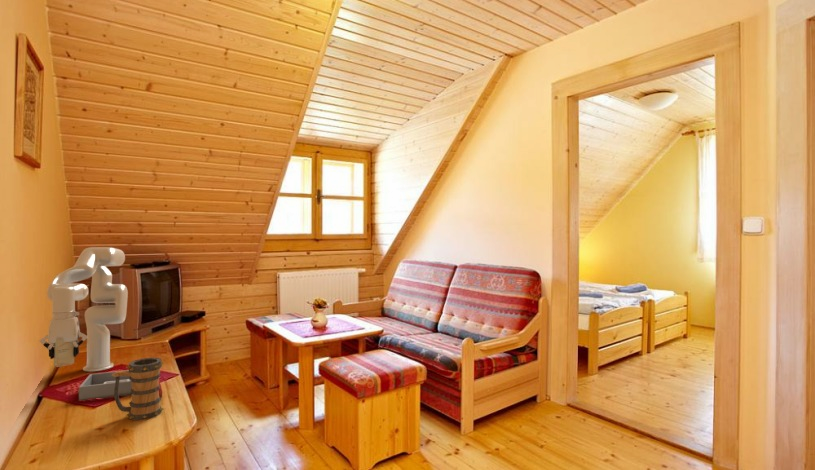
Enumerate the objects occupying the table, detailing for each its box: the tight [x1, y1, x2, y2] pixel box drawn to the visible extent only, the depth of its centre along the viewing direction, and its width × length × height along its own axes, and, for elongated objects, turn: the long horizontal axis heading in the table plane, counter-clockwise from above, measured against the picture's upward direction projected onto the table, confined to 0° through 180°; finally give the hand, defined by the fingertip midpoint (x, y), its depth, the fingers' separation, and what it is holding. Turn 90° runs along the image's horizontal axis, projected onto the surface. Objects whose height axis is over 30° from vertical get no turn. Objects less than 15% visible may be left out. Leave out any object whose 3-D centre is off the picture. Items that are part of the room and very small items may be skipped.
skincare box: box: [53, 338, 75, 368], centre depth 185 cm, size 6×4×12 cm
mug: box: [112, 357, 165, 421], centre depth 164 cm, size 13×17×20 cm
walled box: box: [78, 369, 132, 402], centre depth 189 cm, size 18×22×6 cm
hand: (64, 356), depth 185 cm, fingers closed on skincare box, 7 cm apart
